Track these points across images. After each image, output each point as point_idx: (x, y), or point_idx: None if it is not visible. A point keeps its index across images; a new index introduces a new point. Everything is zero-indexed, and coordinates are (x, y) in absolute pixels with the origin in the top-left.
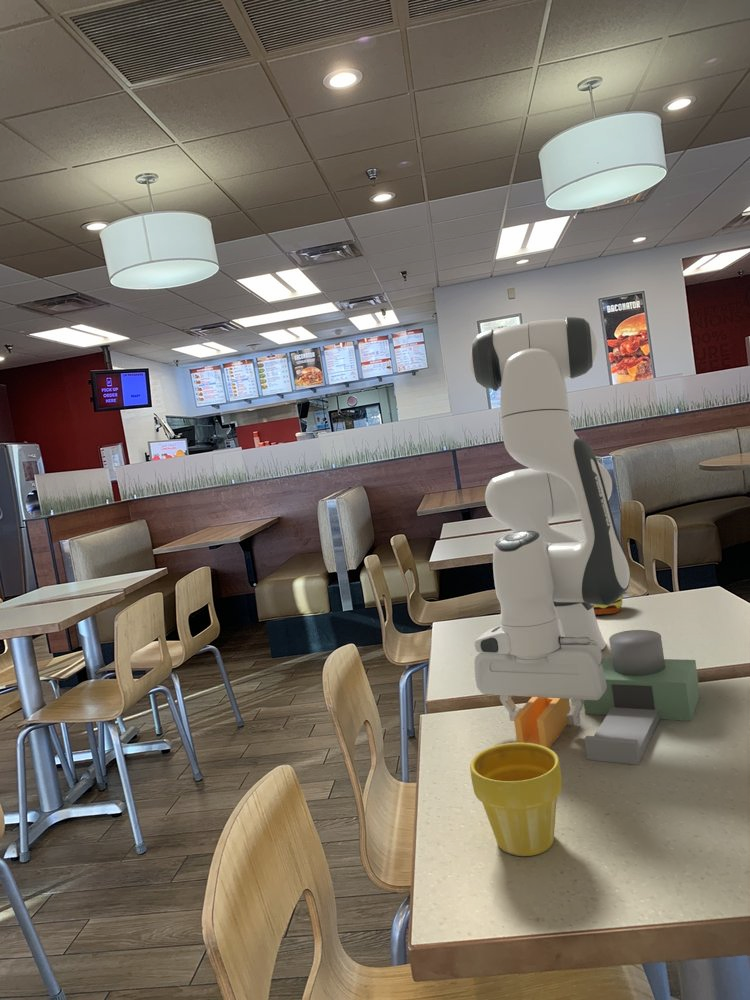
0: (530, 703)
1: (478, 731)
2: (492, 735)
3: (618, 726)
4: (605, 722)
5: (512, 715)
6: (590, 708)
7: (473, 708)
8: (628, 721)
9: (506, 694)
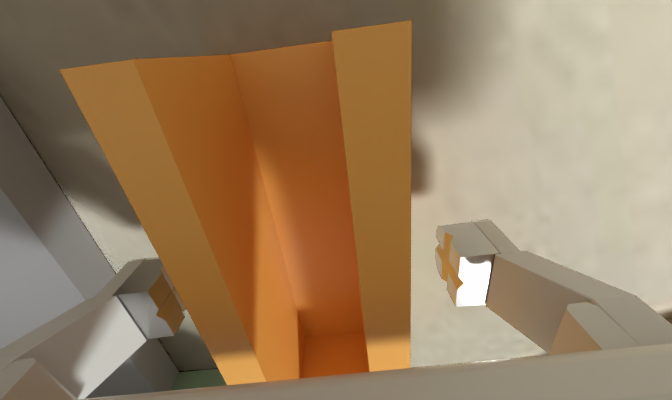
0: (380, 326)
1: (630, 150)
2: (549, 133)
3: (16, 306)
4: None
5: (484, 237)
6: None
7: (667, 311)
8: None
9: (638, 353)
